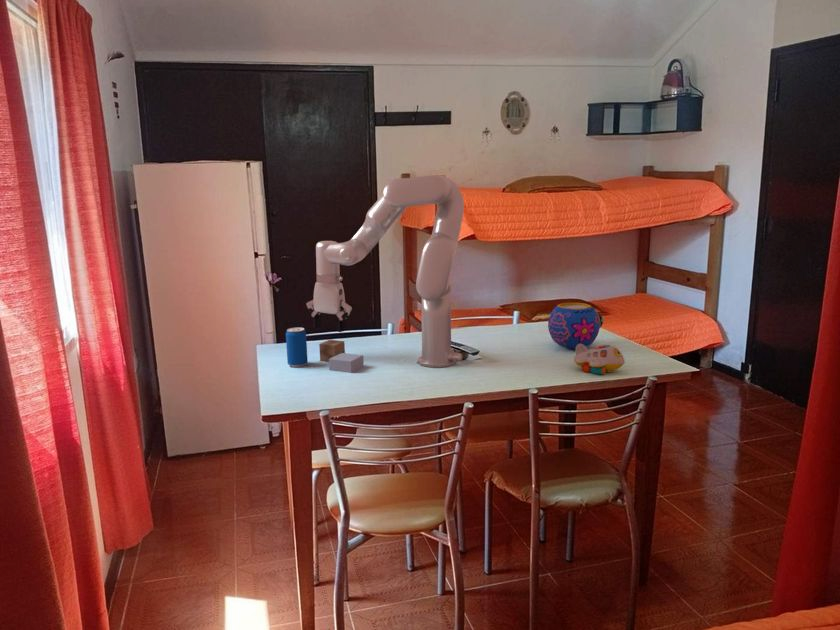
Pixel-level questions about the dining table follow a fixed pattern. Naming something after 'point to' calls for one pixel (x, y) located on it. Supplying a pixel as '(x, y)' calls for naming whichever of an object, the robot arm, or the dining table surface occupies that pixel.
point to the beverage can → (296, 347)
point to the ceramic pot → (574, 324)
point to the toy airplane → (598, 359)
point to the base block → (346, 362)
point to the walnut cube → (331, 349)
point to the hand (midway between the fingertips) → (329, 329)
